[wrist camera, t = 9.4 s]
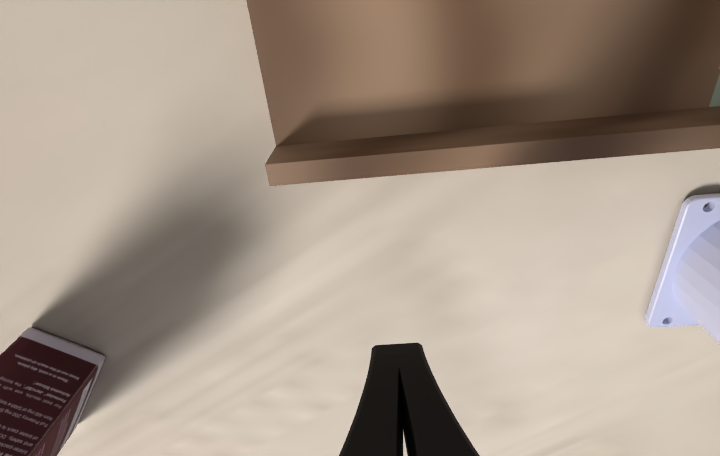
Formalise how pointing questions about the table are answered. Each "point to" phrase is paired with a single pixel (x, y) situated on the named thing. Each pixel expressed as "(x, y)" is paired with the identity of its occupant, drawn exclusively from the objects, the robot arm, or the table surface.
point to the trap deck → (482, 83)
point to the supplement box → (43, 392)
